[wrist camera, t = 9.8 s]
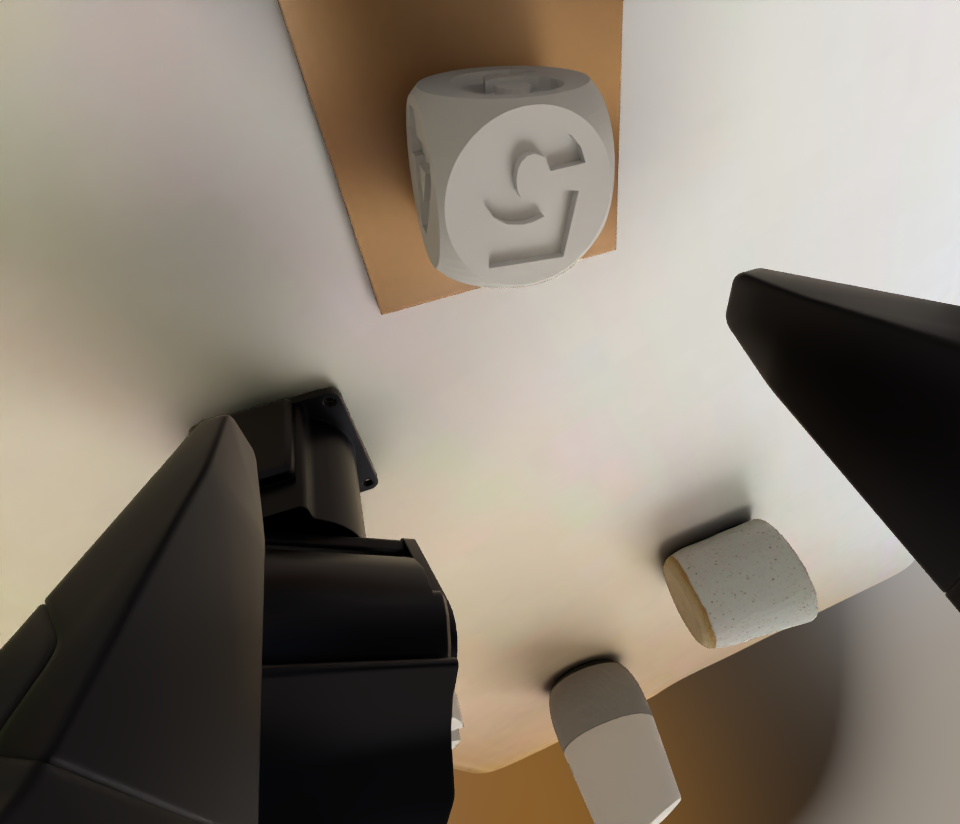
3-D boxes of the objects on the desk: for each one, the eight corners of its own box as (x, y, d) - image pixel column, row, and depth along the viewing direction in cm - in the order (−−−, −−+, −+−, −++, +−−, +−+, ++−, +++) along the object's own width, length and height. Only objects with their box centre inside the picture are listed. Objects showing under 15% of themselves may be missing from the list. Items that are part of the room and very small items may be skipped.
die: (417, 235, 19) (446, 301, 15) (398, 73, 16) (430, 108, 12) (546, 217, 20) (604, 275, 16) (554, 60, 16) (629, 88, 13)
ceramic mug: (653, 542, 39) (714, 641, 33) (755, 498, 39) (832, 591, 33) (660, 599, 46) (711, 688, 41) (746, 563, 46) (808, 647, 41)
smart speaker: (622, 679, 57) (695, 837, 46) (542, 706, 55) (598, 875, 45) (630, 641, 50) (716, 814, 40) (540, 671, 49) (605, 857, 39)
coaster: (612, 246, 22) (616, 250, 22) (380, 310, 21) (381, 315, 21) (619, -78, 15) (625, -78, 15) (276, -4, 14) (276, -3, 14)
